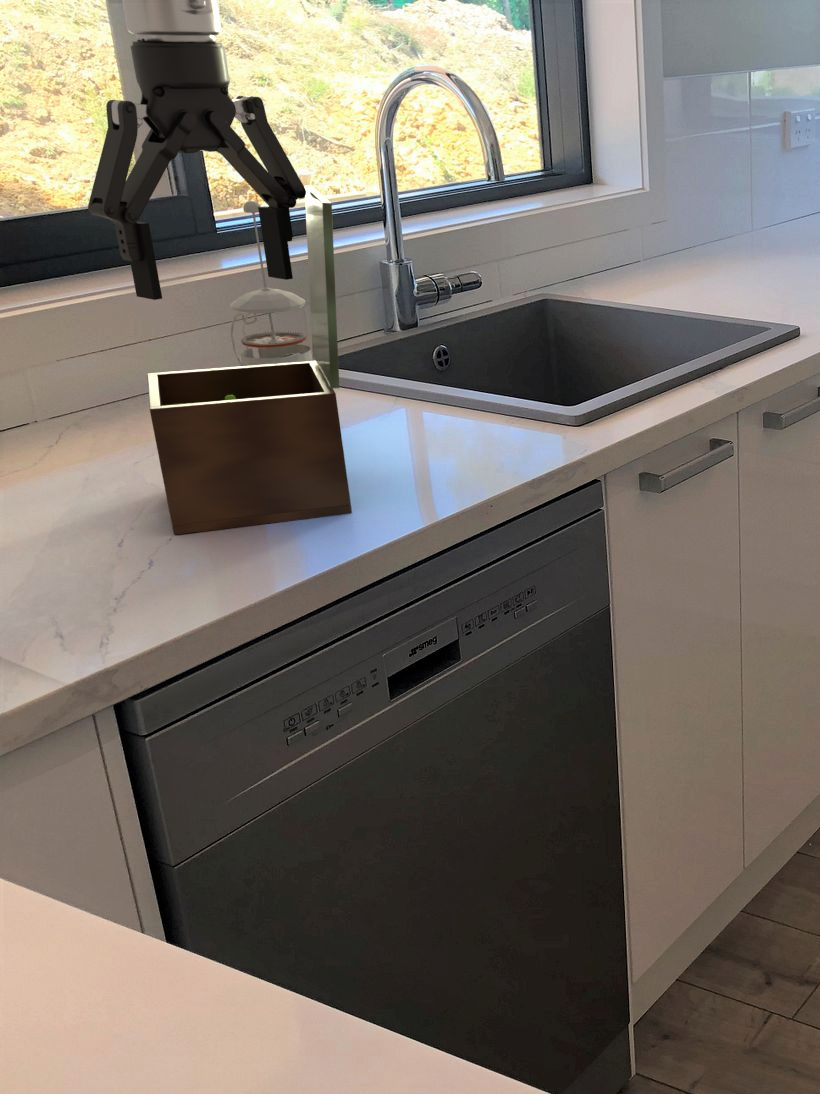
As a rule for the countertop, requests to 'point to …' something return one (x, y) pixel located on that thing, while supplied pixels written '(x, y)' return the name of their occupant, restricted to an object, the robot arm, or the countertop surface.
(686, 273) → the countertop surface
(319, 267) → the lid
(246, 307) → the french press
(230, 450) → the chest
